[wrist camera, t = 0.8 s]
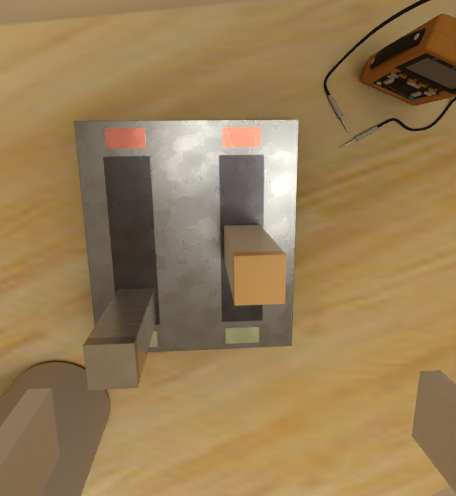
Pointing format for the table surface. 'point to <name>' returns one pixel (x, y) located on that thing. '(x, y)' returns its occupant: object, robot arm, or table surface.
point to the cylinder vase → (66, 420)
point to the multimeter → (412, 66)
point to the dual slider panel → (179, 236)
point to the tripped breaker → (254, 266)
